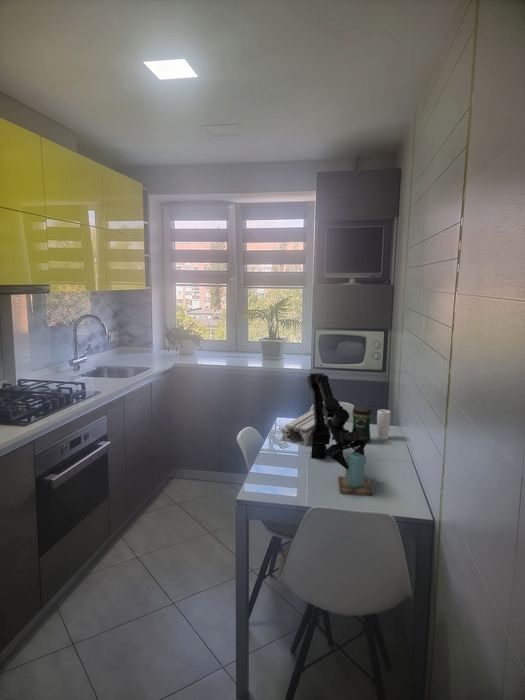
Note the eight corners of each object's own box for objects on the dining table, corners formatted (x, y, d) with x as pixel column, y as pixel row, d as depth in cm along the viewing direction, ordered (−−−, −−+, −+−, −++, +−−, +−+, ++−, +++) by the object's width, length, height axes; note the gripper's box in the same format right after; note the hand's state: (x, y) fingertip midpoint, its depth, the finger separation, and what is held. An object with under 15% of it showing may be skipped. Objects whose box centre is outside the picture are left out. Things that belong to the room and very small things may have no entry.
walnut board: (339, 493, 165) (340, 489, 165) (338, 479, 177) (338, 476, 177) (371, 495, 164) (371, 492, 163) (367, 481, 175) (368, 478, 175)
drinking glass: (386, 441, 222) (388, 413, 220) (374, 438, 226) (375, 411, 224) (390, 437, 228) (392, 410, 226) (377, 435, 231) (379, 408, 229)
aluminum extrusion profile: (280, 441, 221) (281, 422, 219) (305, 425, 247) (306, 408, 245) (305, 446, 213) (306, 427, 212) (328, 430, 240) (329, 412, 238)
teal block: (354, 487, 167) (356, 458, 165) (345, 482, 171) (346, 454, 169) (363, 484, 169) (365, 456, 168) (354, 480, 173) (356, 451, 172)
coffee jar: (370, 439, 224) (372, 405, 222) (368, 444, 217) (371, 409, 214) (352, 437, 228) (354, 403, 225) (349, 442, 220) (351, 407, 218)
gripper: (331, 425, 165) (350, 462, 158) (365, 418, 175) (384, 453, 168) (317, 438, 173) (334, 475, 166) (350, 431, 183) (368, 464, 176)
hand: (356, 466), depth 168 cm, fingers open, 9 cm apart
